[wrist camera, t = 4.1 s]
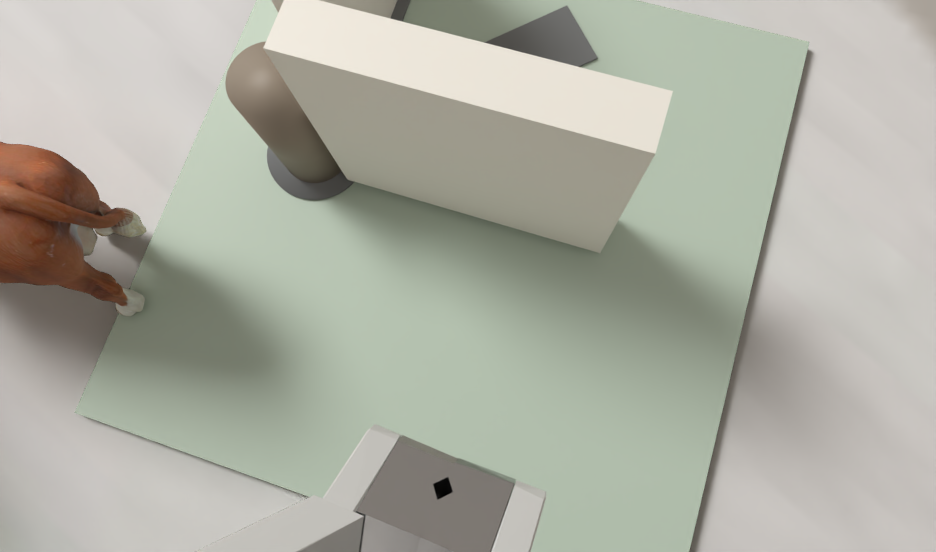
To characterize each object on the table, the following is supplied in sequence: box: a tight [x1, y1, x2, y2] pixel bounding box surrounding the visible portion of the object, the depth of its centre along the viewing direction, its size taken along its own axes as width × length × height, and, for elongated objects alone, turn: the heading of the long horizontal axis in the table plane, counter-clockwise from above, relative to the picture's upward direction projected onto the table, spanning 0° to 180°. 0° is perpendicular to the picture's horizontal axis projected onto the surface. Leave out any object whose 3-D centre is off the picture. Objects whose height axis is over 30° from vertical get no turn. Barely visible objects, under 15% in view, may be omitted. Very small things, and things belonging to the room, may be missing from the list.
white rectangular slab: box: [263, 0, 673, 253], centre depth 18 cm, size 9×2×8 cm, turn 72°
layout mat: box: [75, 0, 809, 552], centre depth 22 cm, size 20×20×1 cm
